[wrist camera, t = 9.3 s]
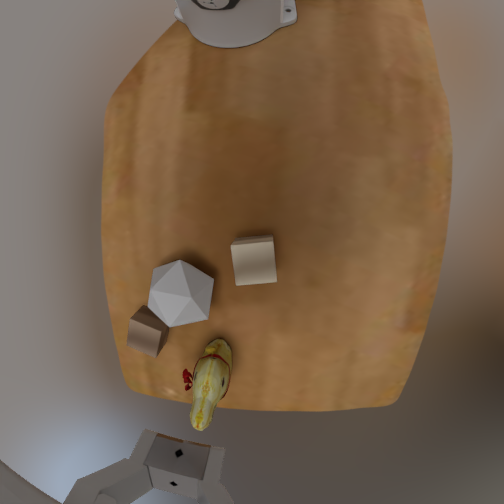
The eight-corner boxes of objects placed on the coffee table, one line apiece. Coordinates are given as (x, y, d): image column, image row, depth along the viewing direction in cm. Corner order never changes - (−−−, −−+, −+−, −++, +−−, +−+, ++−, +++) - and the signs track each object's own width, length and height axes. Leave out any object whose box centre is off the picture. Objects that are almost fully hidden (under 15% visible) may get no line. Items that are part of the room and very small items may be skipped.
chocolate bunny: (239, 333, 41) (225, 400, 27) (229, 386, 44) (215, 453, 29) (195, 324, 41) (163, 385, 27) (190, 378, 44) (164, 441, 29)
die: (151, 261, 40) (129, 320, 34) (178, 233, 35) (152, 302, 28) (198, 287, 44) (182, 345, 38) (231, 265, 38) (217, 333, 32)
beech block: (235, 238, 38) (230, 245, 33) (272, 234, 38) (273, 241, 33) (240, 273, 39) (236, 285, 34) (276, 270, 39) (276, 282, 34)
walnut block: (143, 305, 41) (130, 318, 37) (172, 316, 42) (161, 331, 37) (139, 330, 43) (126, 345, 38) (166, 341, 43) (156, 358, 38)
